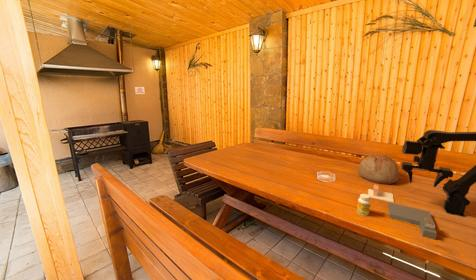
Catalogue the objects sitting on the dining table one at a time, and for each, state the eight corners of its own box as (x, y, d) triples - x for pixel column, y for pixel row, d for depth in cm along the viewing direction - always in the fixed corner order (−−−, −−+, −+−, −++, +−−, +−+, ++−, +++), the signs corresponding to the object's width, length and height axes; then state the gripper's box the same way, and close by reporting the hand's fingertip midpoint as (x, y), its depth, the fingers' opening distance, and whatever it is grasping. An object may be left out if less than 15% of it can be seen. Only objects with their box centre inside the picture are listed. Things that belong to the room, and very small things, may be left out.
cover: (392, 195, 119) (393, 186, 117) (393, 203, 111) (395, 194, 109) (368, 190, 125) (369, 182, 124) (367, 197, 117) (368, 188, 116)
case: (428, 215, 100) (429, 209, 99) (438, 240, 83) (440, 234, 83) (388, 205, 108) (388, 200, 107) (390, 227, 92) (391, 221, 91)
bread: (360, 167, 159) (363, 148, 156) (398, 174, 146) (402, 154, 142) (355, 179, 139) (357, 158, 135) (398, 188, 125) (402, 166, 122)
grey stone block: (431, 223, 89) (432, 219, 89) (434, 229, 85) (435, 225, 85) (422, 220, 91) (423, 216, 90) (424, 227, 87) (425, 223, 86)
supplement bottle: (364, 209, 105) (366, 192, 103) (371, 215, 100) (374, 198, 98) (354, 210, 105) (356, 193, 103) (360, 216, 100) (363, 198, 98)
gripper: (450, 154, 102) (442, 182, 106) (402, 148, 112) (397, 175, 116) (457, 161, 93) (449, 191, 97) (405, 154, 103) (399, 182, 107)
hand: (422, 184), depth 105 cm, fingers open, 9 cm apart
